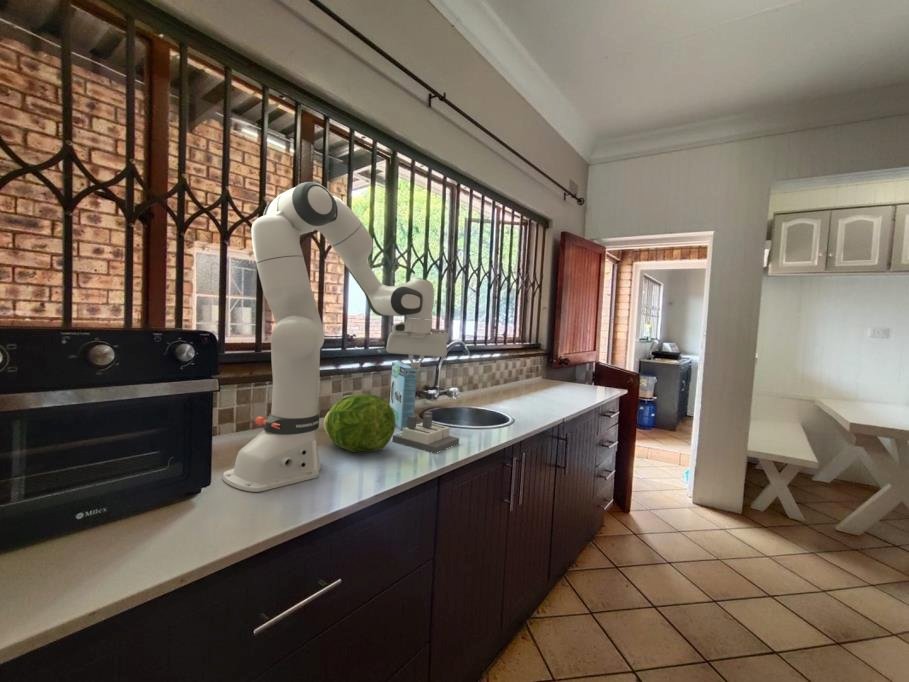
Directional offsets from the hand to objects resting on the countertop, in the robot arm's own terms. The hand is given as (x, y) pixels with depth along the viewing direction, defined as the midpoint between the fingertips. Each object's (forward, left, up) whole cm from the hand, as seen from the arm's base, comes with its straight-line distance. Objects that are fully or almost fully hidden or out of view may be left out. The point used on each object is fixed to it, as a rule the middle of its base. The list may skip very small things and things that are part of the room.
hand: (415, 368), depth 136 cm
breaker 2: (+4, -4, -19) cm, 19 cm away
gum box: (+13, +15, -24) cm, 31 cm away
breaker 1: (-4, -3, -19) cm, 19 cm away
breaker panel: (0, -7, -24) cm, 25 cm away
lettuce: (-21, +5, -24) cm, 32 cm away
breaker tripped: (0, -6, -19) cm, 20 cm away
